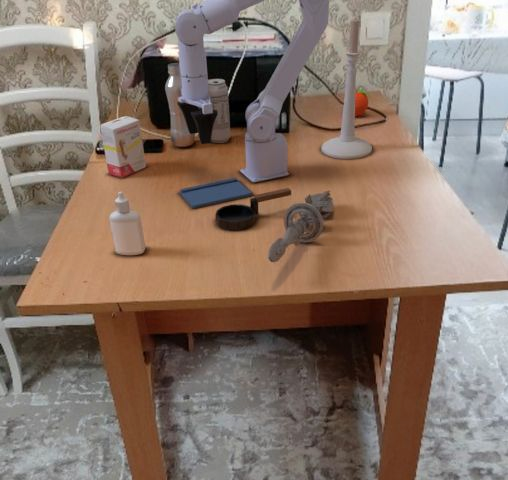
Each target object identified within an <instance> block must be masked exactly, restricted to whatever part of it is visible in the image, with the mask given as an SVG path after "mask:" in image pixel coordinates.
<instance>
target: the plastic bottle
mask: <svg viewBox="0 0 508 480" xmlns="http://www.w3.org/2000/svg"><path fill="white" fill-rule="evenodd" d="M167 73H168V78H167V80H166V82H165V85H164V91H165V95H166V99H167V103H168V109H169V115H170V129H169V131H170V132H169V134H170V135H169V137H170V141H171V143H172V145H174V146H175V147H177V148H181V147H182V148H186V147H189V146H191V145H192V146H193V144H194V142H195V140H196V139H195V138H196V133H194V134H190V133H189V131H188V128H187V124H186V121H185V118H184V115H183V113H182V111H181V109H180V107H179V106H178V104H177V102H179V101H178V97H182V93H181V89H182V82H181V73H180V63H179V62H172V63H169V64H167Z"/></svg>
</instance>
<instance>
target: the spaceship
mask: <svg viewBox="0 0 508 480" xmlns="http://www.w3.org/2000/svg"><path fill="white" fill-rule="evenodd" d="M330 192H331V190H325V191H323V192H321V193H315V194H312V195H311V194H310V193H309V194H308V195H307V196H306V197H304V202H303V201H302V202H301V201H300V202H296V203H293V204H291V205H289V207H288V208H287V209H286V210H285V213H284V215H283V227H284V229H285V232H284V234H283V236H282V237H279V238H277V239H276V240H275V241H274V242H273V243H272V244H271V245H270V247H269V249H268V253H267V258H268V260H269V262H271V263H277V262H279V261H280V260H281V259H282V258H283V256H284V255H285V254H286V251H287V248H288V247H289V246H290V245H292V244H294V245H295V246H296V247H298V246H299V245H300V244H301V243H312V242H314V241H316V240H317V239H318V238H319V237H320V236H321V235H322V233H323V230H324V219H325V218H326V217H329V215H330V214H331V213H332V212H333V211H334V202H333V197H332V196H331V195H332V194H331V193H330ZM320 211H323V212H325V213H324V214H323V215H322V214H321V212H320ZM326 212H327V213H326ZM297 214H298V215H299V217H300V218H299V217H298V216H296V215H297ZM307 229H309V230H310V229H311V231H310V232H308V230H307Z"/></svg>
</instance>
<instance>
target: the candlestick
mask: <svg viewBox="0 0 508 480" xmlns="http://www.w3.org/2000/svg"><path fill="white" fill-rule="evenodd" d="M349 22H350V23H349V24H350V25H349V26H350V27H349V39H348V40H349V41H348V50H347V51H345V52H344V54H345V55H346V57H347V58H346V61H347V64H348V67H347V69H346V71H347V73H346V80H345V81H346V82H345V89H344V99H343V108H342V118H341V126H340V134H339V136H337V137H333V138H330V139H327V140H326V141H325V142H324V143H322V145H321V153H323V154H324V155H326V156H328V157H331V158H335V159H340V160H341V159H342V160H353V159H360V158H364V157H367V156H369V155H370V154H371V153H372V151H373V147H372V144H371V143H369V142H368V141H367V140H365V139H363V138H360V137H357V136H356V135H355V133H356V131H355V127H356V125H355V124H356V123H355V122H356V116H355V90H356V82H357V81H356V80H357V79H356V78H357V68H356V65H357V62H358V61H359V55H360V54H361V53H362V52H361V51H358V48H359V47H358V46H359V34H360V33H359V30H360V19H357V18H356V17H355V18H354V19H350V21H349Z"/></svg>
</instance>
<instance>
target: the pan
mask: <svg viewBox="0 0 508 480" xmlns="http://www.w3.org/2000/svg"><path fill="white" fill-rule="evenodd" d="M253 196H254V197H252V198H250V199H249V205H246V204H243V203H241V204H240V203H238V204H237V203H235V204H228V205H224V206H222V207H220V208H218V209H217V210H216V212H215V214H214V215H215V223H216V225H217V227H219V228H220V229H222V230H224V231H225V230H226V231H233V232H234V231H243V230H247V229H249V228H251V227H252V226H254V225H255V223H256V216H258V215H259V203H263V202H267V201H271V200H276V199H280V198H284V197H290V196H292V190H291V189H290V188H289V187H285V188H282V189H281V188H280V189H277V190H271V191H267V192H263V193H258V194H255V195H253Z"/></svg>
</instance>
